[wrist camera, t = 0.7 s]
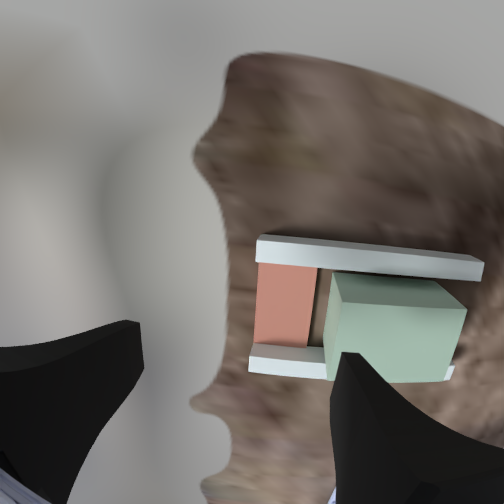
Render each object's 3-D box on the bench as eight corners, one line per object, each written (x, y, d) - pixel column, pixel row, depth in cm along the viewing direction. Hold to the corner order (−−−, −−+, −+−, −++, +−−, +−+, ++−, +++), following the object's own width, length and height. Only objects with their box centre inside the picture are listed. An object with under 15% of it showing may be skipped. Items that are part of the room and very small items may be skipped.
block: (418, 341, 19) (443, 381, 14) (322, 336, 20) (327, 380, 15) (433, 280, 18) (467, 309, 13) (332, 271, 19) (342, 302, 14)
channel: (440, 365, 19) (449, 379, 17) (253, 355, 21) (248, 371, 19) (470, 255, 17) (484, 262, 15) (261, 234, 19) (256, 240, 17)
